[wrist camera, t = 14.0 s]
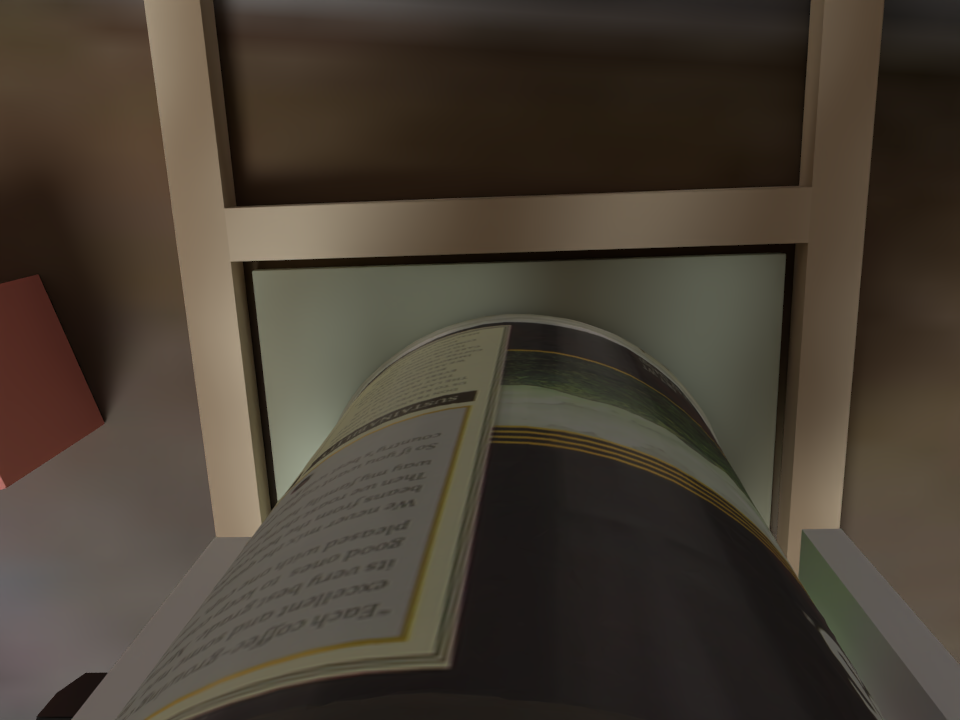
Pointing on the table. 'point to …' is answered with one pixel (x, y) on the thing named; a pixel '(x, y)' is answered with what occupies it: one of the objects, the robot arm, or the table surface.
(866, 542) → the table surface
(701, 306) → the frame
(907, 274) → the table surface
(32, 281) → the red die
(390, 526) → the coffee can
